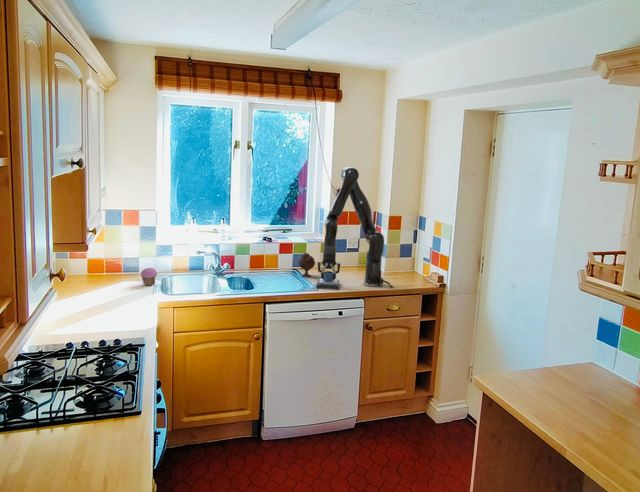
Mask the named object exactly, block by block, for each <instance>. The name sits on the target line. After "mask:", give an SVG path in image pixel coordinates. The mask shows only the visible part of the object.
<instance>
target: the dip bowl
mask: <svg viewBox="0 0 640 492" xmlns="http://www.w3.org/2000/svg"><path fill="white" fill-rule="evenodd" d="M333 277H334V272H333V270H324V272H323V280H324V281H325V282H332V281H333Z"/></svg>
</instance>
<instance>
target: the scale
mask: <svg viewBox="0 0 640 492" xmlns="http://www.w3.org/2000/svg"><path fill="white" fill-rule="evenodd" d="M316 289H322V290H339V289H340V280H339V279H335V280H333V281H332V282H325V281H324V280H323V279H322V278H319V279H317V283H316Z"/></svg>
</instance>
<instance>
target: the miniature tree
mask: <svg viewBox="0 0 640 492" xmlns="http://www.w3.org/2000/svg"><path fill="white" fill-rule="evenodd" d="M297 262H298V265H299V268H301V269H302V270H304V273H303V274H302V275H301V277H303V278H311V274H309V271H310V270H312V269H313V268H314V267H315V265H316V261H315V258H314V257H313V256H311V255H310V253H308V252H304V253H302V255H301V257H300V259H299V260H298V261H297Z"/></svg>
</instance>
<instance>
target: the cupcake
mask: <svg viewBox="0 0 640 492" xmlns="http://www.w3.org/2000/svg"><path fill="white" fill-rule="evenodd" d="M157 275H158V271H157V270H156V269H155V268H153V267H147V268H144V269H142V270H141V272H140V278H141V279H142V283H143V284H144V286H148V287H149V286H153V285H155V283H156V277H157Z"/></svg>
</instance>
